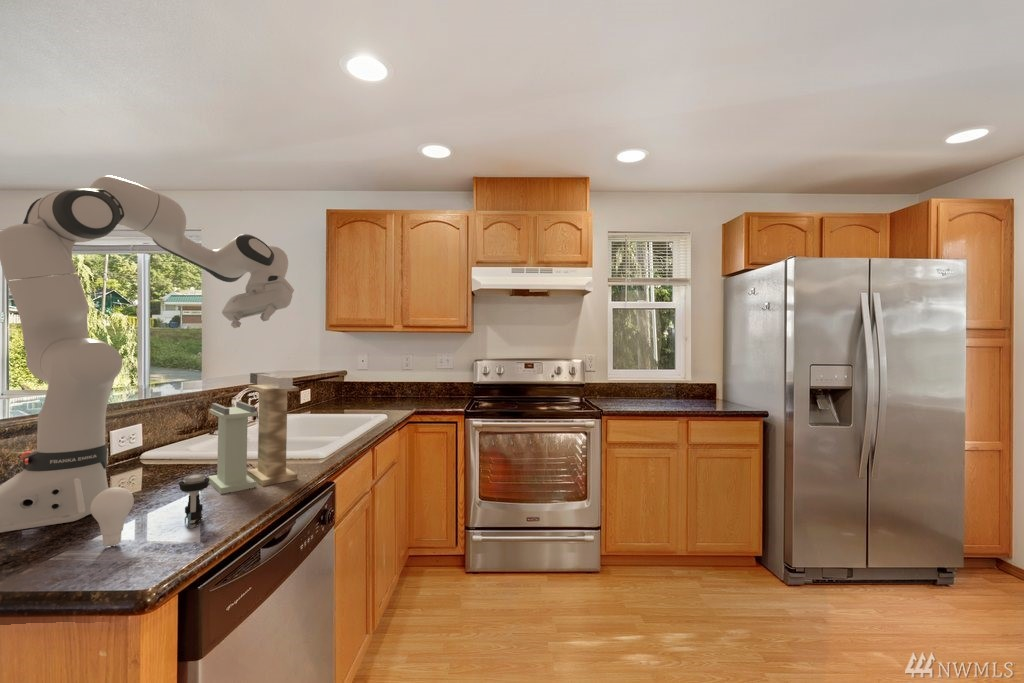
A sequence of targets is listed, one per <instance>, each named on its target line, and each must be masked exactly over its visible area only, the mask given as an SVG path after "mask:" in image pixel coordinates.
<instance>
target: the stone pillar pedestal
mask: <svg viewBox="0 0 1024 683" xmlns="http://www.w3.org/2000/svg"><path fill="white" fill-rule="evenodd" d="M299 388H300V387H299V386H294V385H293V387H292V389H275V388H271V387H266V386H262V385H257V384H249V385H248V388H247V389H249V390H252V391H256V392H258V429H257V430H258V435H257V436H258V438H257V440H258V441H257V444H258V445H257V467H256V468H250V469H247V475H248V476H249V477H250V478H252V479H253V480H255V481H256V484H258V485H260V486H261V487H265V486H269V485H275V484H280V483H285V482H290V481H296V480H298V473H296V472H294V471H293V470H291V469H289V468H287V438H288V437H287V434H288V432H287V431H288V430H287V429H288V426H287V425H288V392H299V391H300V390H299Z"/></svg>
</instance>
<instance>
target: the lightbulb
mask: <svg viewBox="0 0 1024 683" xmlns="http://www.w3.org/2000/svg"><path fill="white" fill-rule="evenodd" d="M108 488H109V489H106V490H104V491H102V492H100V493H99V494H98V495H97V496H96V497H95V498H94V499H93V501H92V503H91V506H90V510H91V514H90V515H92V517H93V519H95V520H96V522H97V524H98V525H99V528H100V535H101V536H102V537H101V538H102V545H103V546H104V547H108V546H114V545H115V546H116V545H118V544H120V542H121V540H122V533H123V531H124V524H125V521H126V519H127V517H128V515H129V513H131V510H132V508H133V506H134V503H135V498H134V494H133V493H132V492H131V491H130V490H128V489H127V488H124V487H120V486H117V487H115V486H114V487H108ZM115 546H114V547H115Z"/></svg>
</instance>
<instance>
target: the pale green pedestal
mask: <svg viewBox="0 0 1024 683" xmlns="http://www.w3.org/2000/svg"><path fill="white" fill-rule="evenodd" d="M208 411H209V414H211V415H213V416H215V417H217V419H218V420H217V464H216V465H217V471H216V472H217V473H216V474H215V475H214V474H213V475H209V476H207V478H209V479H210V480H209V482H208V484H210V485H211V486H212V487H213V488H214V489H215V490H216V491H217V492H218V491H219V492H218V493H219V494H220V493H221V494H220V495H224V494H228V493H229V492H230V493H233V492H239V491H244V490H249V488H250V489H254V487H255V488H257V482H256V481H254V480H253V479H252V478H250V477H249V476H248V475H247V470H248V469H247V467H248V466H247V465H248V418H249V417H258V411H256V406H255V405H252V404H248V403H246V402H243V401H241V400H240V401H238V400H237V401H236V402H235V406H230V407H226V406H224V405H221V404H219V403H217V402H212V403H211V408H209V410H208Z"/></svg>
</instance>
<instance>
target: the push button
mask: <svg viewBox="0 0 1024 683" xmlns="http://www.w3.org/2000/svg"><path fill="white" fill-rule="evenodd" d="M209 480H210V479H209V478H208V477H206V476H205V474H203V473H196V474H189V475H186V476H184V478H183V479H182V480H181V481H179V482H178V486H179V491H181V492H183V493H184V494H188V502H187V505H186V506H185V507H184V513H185V517H184V525H187V528H188V527H189V529H193V528H196V527H198V526H199V523H198V522H200V521H202V519H203V510H204V508H203V507H204V505H203V504H202V503H201V499H200V498H201V497H200V496H201V495H200V492H202V491H204V490H205V489H207V488H208V487H209ZM201 518H202V519H201ZM186 523H187V524H186ZM197 525H198V526H197ZM195 526H196V527H195Z"/></svg>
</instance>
